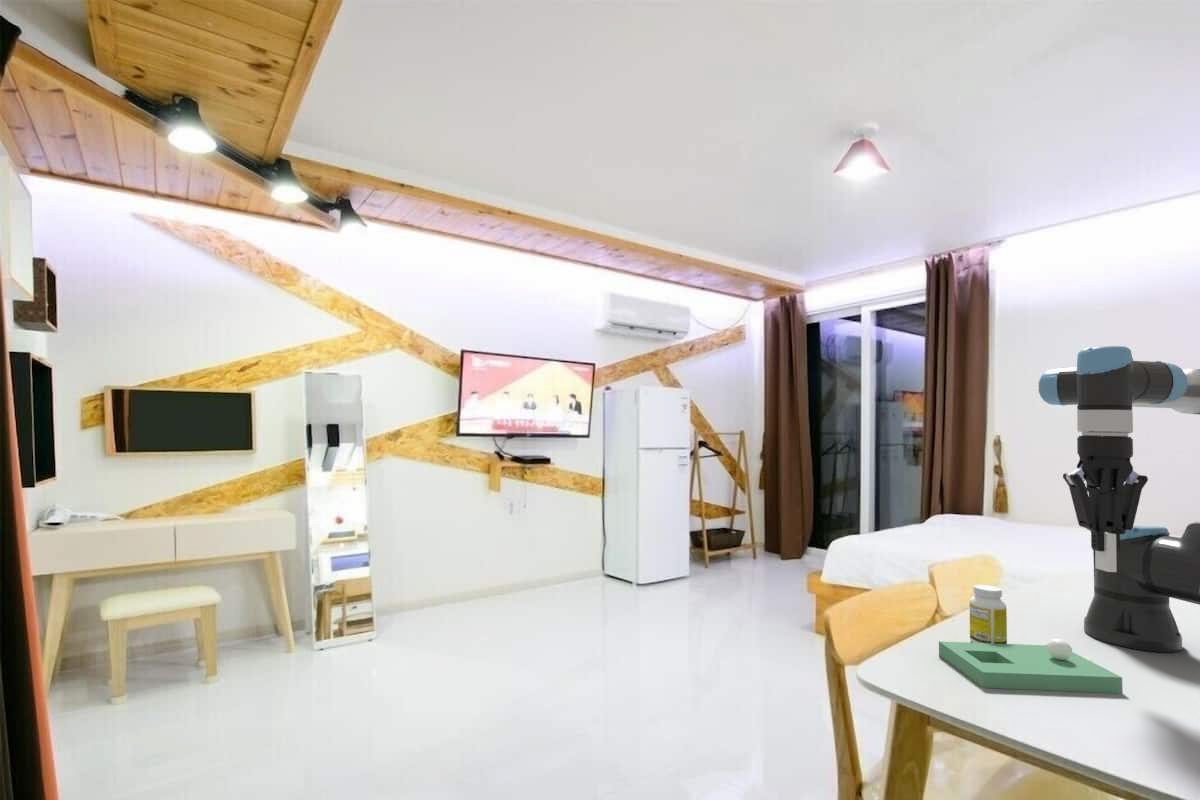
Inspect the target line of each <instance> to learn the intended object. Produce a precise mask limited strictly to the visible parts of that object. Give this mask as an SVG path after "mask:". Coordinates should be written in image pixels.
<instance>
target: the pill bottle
mask: <svg viewBox="0 0 1200 800" xmlns="http://www.w3.org/2000/svg"><path fill="white" fill-rule="evenodd" d="M1002 590H1003V589H1002V588H1000V587H997V586H995V585H987V584H975V585H973V594H974V596H972V597H970V599H969V638H970V639H969V640H970V641H971V643H995V644H1008V627H1007V626H1008V625H1007V623H1008V620H1007V619H1008V618H1007V617H1008V616H1007V615H1008V614H1007V604H1006V603H1005V602H1004V601H1003V600H1002V599H1001V598H1002V596H1003V591H1002Z"/></svg>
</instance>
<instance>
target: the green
mask: <svg viewBox="0 0 1200 800" xmlns="http://www.w3.org/2000/svg"><path fill="white" fill-rule="evenodd" d="M938 656H939V657H941V658H942V659H943V660H945V661H946V662H947V663H949V664H950V665H952V666H953V667H955V669H957V670H959V671H960V672H961V673H963V674H964V675H965V676H966V677H968V678H969V679H970V680H972V681H973V682H974V683H976V684H977V685H978V686H980V687H981V688H984V689H1007V690H1032V691H1034V690H1035V691H1053V692H1055V691H1056V692H1057V691H1061V692H1080V693H1081V692H1082V693H1085V692H1086V693H1104V694H1105V693H1110V694H1123V677H1122V676H1120V675H1118V674H1117V673H1114V672H1113V671H1110V670H1108V669H1107V668H1104V667H1103V666H1101V665H1099V664H1097V663H1095V662H1093V661H1091V660H1089V659H1087V658H1085V657H1083V656H1081V655H1079V654H1077V653H1076V652H1073V651H1072V655H1071V657H1070V658H1069V659H1067V660H1058V659H1055V658H1054V657H1052V656H1051V655H1050V654H1049V652H1048V650H1047V645H1045V644H1018V643H1017V644H1016V643H1015V644H1014V643H1007V644H995V643H973V642H962V641H960V642H959V641H938Z"/></svg>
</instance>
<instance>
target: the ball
mask: <svg viewBox="0 0 1200 800" xmlns="http://www.w3.org/2000/svg"><path fill="white" fill-rule="evenodd" d="M1047 650H1048V652H1049V654H1050V655H1051V656H1052V657H1054V658H1055V659H1058V660H1067V659H1069V658H1070V657H1071V655H1072V652H1073V648H1072V647H1071V645H1070V644H1069V643H1068V642H1067V641H1065V639H1062V638H1052V639H1050V640H1049V641H1048V642H1047Z"/></svg>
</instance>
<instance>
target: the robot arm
mask: <svg viewBox="0 0 1200 800" xmlns="http://www.w3.org/2000/svg"><path fill="white" fill-rule="evenodd" d="M1076 357H1077V359H1076V367H1060V368H1054V369H1048V370H1047V371H1045V372H1043V373H1042V375H1041V376H1040V378H1039V380H1038V393H1039V396H1040V397H1041V399H1042V401H1044V402H1045V403H1047V404H1048V405H1053V406H1076V405H1077V406H1076V408H1077V410H1076V414H1077V415H1076V417H1077V419H1076V420H1077V421H1076V423H1077V424H1076V425H1077V427H1076V428H1077V433H1081V435H1078V437H1077V438H1076V441H1077V442H1076V444H1077V445H1076V446H1077V448H1076V450H1077V455H1078V457H1079V460H1078V462H1077V464H1076V469H1074V470H1072V472H1064V473H1063V474H1062V478H1063V479H1064V481H1065V482H1066V484H1067V486H1068V488H1069V492H1070V495H1071V496H1070V497H1071V500H1072V505H1073V507H1074V512H1075V515H1076V520H1077V523H1078V526H1079V527H1081V528H1083V529H1084V528H1085V529H1086V530H1089V532H1090V535H1091V536H1090V537H1091V538H1090V543H1091V545H1090V547H1091V549H1092V551H1093V597H1092V600H1091V602H1090V605H1089V607H1088V610H1087V613H1086V616H1085V617H1084V618H1083V631H1084V633H1085V634H1087V635H1088V636H1090V637H1092V638H1094V639H1098V640H1100V641H1103V642H1106V643H1108V644H1112V645H1117V646H1120V647H1121V646H1122V647H1125V648H1129V649H1134V650H1140V651H1147V652H1157V653H1158V652H1159V653H1176V652H1180V651H1182V650H1183V637H1182V634H1181V633H1180V631H1179V627H1178V624H1177V622H1176V620H1175V617H1174V614H1173V613H1172V609H1171V606H1170V599H1175V600H1179V601H1185V602H1187V603H1192V604H1196V605H1199V606H1200V520H1197V521H1194V522H1190V523H1188V524H1187V525H1186V527H1185V530H1184V532H1183V534H1182V536H1181V537H1177V536H1170V534H1171V533H1170V532H1169V530H1168V528H1166V527H1165V526H1164V527H1163V526H1156V525H1155V526H1153V525H1150V526H1149V525H1134V523H1135V521H1136V516H1137V512H1138V506H1139V504H1140V499H1141V496H1142V495H1141V494H1142V490H1143V488H1144V487H1145V485H1146V484H1147V483H1148V481H1149V479H1148V476H1147V475H1142V474H1140V473H1139V474H1138V473H1137V472H1136V471H1134V466H1133V465H1132V463H1131V458H1133V456H1134V439H1133V438H1132V436H1129V434H1132V433H1134V420H1133V417H1134V416H1133V408H1134V407H1135V408H1156V409H1159V408H1160V409H1172V410H1174V411H1175V412H1177V413H1181V414H1186V415H1187V414H1188V415H1199V416H1200V369H1198V368H1186V369H1182V368H1181V367H1180V366H1178V365H1177V364H1174V363H1170V362H1164V361H1163V362H1162V360H1161V361H1160V360H1157V361H1147V360H1134V358H1133V355H1132V350H1131V349H1130V348H1129V347H1127V346H1122V345H1121V346H1120V345H1110V346H1109V345H1107V346H1104V345H1103V346H1092V347H1087V348H1083V349H1081V350H1080V351H1079V352H1077V356H1076ZM1085 482H1086V483H1085Z"/></svg>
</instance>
